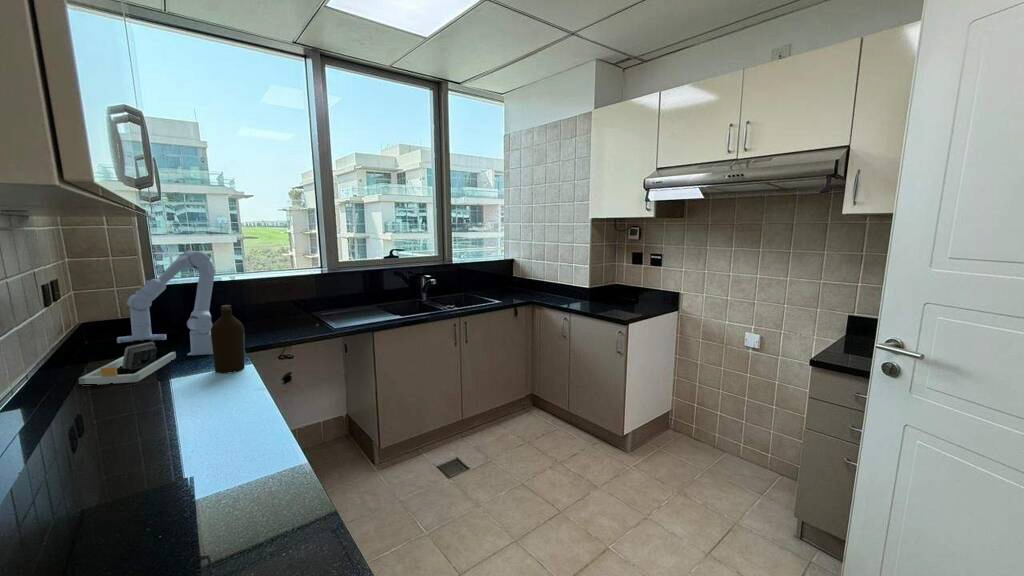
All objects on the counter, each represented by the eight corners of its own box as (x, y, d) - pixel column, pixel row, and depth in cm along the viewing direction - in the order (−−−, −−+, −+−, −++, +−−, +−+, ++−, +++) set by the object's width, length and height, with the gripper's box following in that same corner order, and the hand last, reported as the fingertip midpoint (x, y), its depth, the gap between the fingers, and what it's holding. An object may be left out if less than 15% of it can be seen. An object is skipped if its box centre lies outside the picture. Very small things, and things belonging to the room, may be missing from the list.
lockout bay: (175, 357, 172) (174, 344, 171) (137, 381, 145) (136, 366, 144) (128, 360, 167) (127, 347, 166) (79, 385, 140) (77, 369, 139)
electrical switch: (150, 362, 165) (150, 340, 163) (158, 365, 163) (159, 343, 162) (121, 369, 156) (122, 345, 154) (130, 373, 155) (131, 349, 153)
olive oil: (223, 376, 153) (219, 309, 150) (207, 371, 158) (202, 306, 154) (252, 368, 162) (249, 305, 159) (236, 363, 167) (232, 302, 164)
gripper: (167, 321, 169) (170, 354, 170) (120, 324, 162) (123, 357, 164) (162, 325, 162) (165, 359, 164) (113, 328, 156) (116, 363, 158)
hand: (144, 358), depth 164 cm, fingers closed
